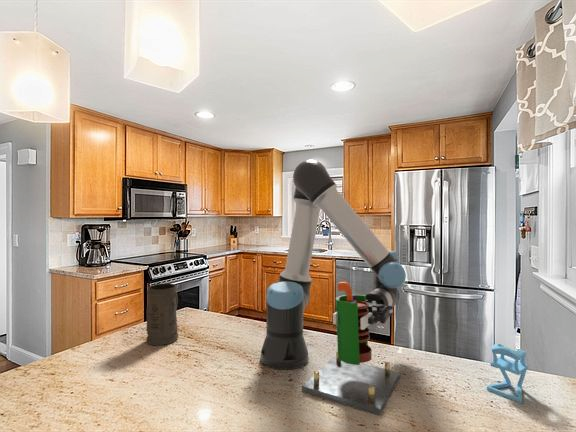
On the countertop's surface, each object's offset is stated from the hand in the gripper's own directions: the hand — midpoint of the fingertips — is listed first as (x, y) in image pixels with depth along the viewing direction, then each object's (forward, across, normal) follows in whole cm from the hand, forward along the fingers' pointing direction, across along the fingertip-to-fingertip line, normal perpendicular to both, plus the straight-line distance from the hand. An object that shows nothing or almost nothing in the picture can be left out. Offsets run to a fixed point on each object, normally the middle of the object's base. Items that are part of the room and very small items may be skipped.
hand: (347, 321), depth 84 cm
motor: (-5, 0, -11) cm, 12 cm away
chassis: (-5, +1, -18) cm, 19 cm away
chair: (-25, -34, -19) cm, 46 cm away
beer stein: (+3, +71, -18) cm, 74 cm away
